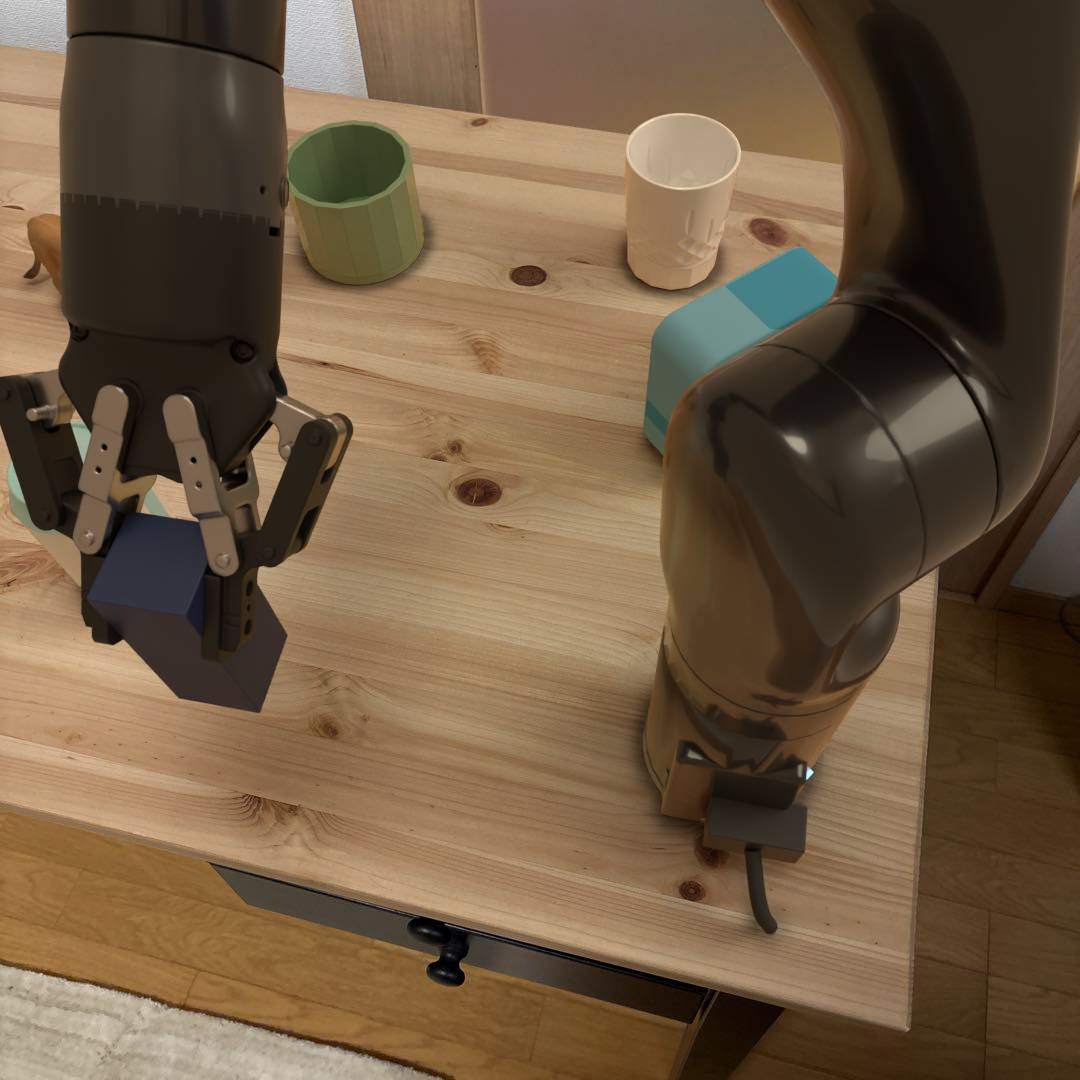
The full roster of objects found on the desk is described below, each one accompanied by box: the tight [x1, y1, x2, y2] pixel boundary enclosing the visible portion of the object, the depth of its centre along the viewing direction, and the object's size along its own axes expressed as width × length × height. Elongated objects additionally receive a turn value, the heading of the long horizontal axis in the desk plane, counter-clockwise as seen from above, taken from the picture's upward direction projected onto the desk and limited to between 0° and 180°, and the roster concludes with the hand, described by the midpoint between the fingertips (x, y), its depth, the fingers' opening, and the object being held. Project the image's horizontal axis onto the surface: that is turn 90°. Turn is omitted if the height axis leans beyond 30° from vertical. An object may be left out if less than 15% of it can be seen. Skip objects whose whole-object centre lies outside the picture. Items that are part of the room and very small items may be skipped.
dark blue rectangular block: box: [87, 511, 289, 714], centre depth 42 cm, size 4×4×10 cm
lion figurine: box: [22, 213, 61, 296], centre depth 73 cm, size 15×5×9 cm, turn 77°
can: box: [6, 420, 178, 588], centre depth 59 cm, size 7×7×12 cm
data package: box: [642, 246, 838, 456], centre depth 64 cm, size 12×4×12 cm, turn 123°
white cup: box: [624, 112, 742, 291], centre depth 73 cm, size 8×8×10 cm
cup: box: [287, 119, 425, 286], centre depth 76 cm, size 9×9×8 cm
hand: (169, 645), depth 40 cm, fingers closed on dark blue rectangular block, 4 cm apart
